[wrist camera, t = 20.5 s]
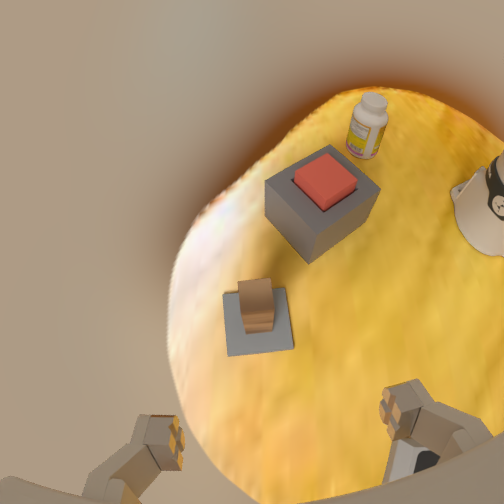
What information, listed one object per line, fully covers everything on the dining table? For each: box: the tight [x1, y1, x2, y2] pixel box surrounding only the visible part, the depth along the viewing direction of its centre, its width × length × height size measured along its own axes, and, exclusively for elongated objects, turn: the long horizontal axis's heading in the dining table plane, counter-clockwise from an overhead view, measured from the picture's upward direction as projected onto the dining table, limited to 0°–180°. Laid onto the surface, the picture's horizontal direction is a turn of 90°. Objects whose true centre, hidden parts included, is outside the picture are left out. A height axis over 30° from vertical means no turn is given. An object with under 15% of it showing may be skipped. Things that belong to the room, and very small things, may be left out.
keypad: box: [382, 438, 440, 484], centre depth 31 cm, size 10×4×15 cm
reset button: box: [294, 153, 358, 213], centre depth 44 cm, size 6×6×5 cm
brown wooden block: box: [238, 278, 275, 335], centre depth 39 cm, size 4×4×11 cm
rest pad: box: [223, 288, 294, 356], centre depth 44 cm, size 9×9×1 cm
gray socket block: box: [265, 145, 381, 265], centre depth 48 cm, size 13×11×9 cm
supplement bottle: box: [346, 92, 388, 159], centre depth 53 cm, size 7×7×13 cm
